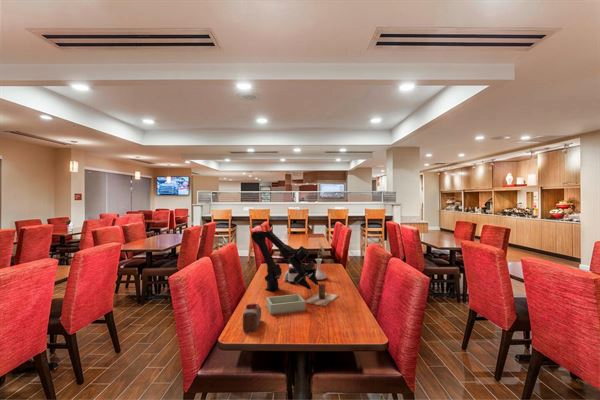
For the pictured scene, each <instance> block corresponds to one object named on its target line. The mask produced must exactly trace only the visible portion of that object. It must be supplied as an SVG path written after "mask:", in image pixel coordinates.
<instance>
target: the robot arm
mask: <svg viewBox="0 0 600 400" xmlns="http://www.w3.org/2000/svg"><path fill="white" fill-rule="evenodd" d="M266 239H267V240H268V241H270V242H271V244H273V245H274V247H276V248H277V249H278V250H279V252H280V255H281V256H282V257H283V258H284V259H286V261H287V262H286V265H290V264H291V265H292V266H293V267H294V269H295V270H294V271H295V272H296V271H297V273H298V275H297V276H296V277H295V278H294V282H295V283H294V284H297V285H300V286H301V287H304V288H306V289H307V290H311V289H312V287H311V285H310V284H309V282H308V280H307V279H309V280H310V281H311V282H312V283H313V284H314V285H316V286H319V280H317V278H316V271H317V268H316V266H315V265H316V263H315V262H314V261H313V260H310V261H308V263H307V264H306V263H304V261H305V259H306V258H307V257H309V255H310V251H309V250H308V249H307V248H305V247H304V246H303V245H301V246H299V248H298V249H295V248H293V246H290V245H288V244H286V243H285V242H283V241H282V240H281V239H280V238H279V237H278V236H277V235H276V234H275V233H274V232H273V231H272V230H266V231H263V230H255V231H253V232H251V240H252V241H253V243H255V244H256V245H257V246H258V248H259V250H260V252H261V255H262V257H263V259H264V262H265V264H266V266H267V267H266V272H267V274H266V275H265V276H264V280H265V282H266V288H265V290H266V291H268V292H269V291H270V292H276V291H277V290H280V287H279V279H280V278H281V275H282V273H283V272H282V268H281V265H280V264H279V263H276V262H275V260H274V259H273V256H272V253H271V252H270V249H269V247H268V245H267V242H266Z"/></svg>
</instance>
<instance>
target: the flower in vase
mask: <svg viewBox="0 0 600 400" xmlns="http://www.w3.org/2000/svg"><path fill="white" fill-rule="evenodd" d="M318 247H319V250H318V251H317V258H315V259H314V260H315V261H316V267H317V268H316V270H317V271H316V278H317V281H319V280H326V279H327V278H328V276H327V274H326V273H325V272H324V271H323V270H322V268H321V263H322V261H323V258H320V257H321V256H322V255H321V254H320V250H321V251H322V252H323V253H325V252H326V251H325V248H324V246H323V245H322V243H320V242H319V243H318Z"/></svg>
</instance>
